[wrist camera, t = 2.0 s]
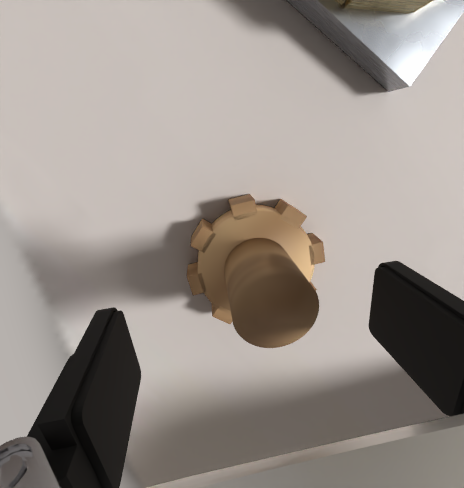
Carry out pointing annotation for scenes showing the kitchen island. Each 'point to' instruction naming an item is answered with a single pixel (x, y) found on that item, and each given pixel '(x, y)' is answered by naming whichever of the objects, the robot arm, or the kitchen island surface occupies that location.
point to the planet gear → (258, 271)
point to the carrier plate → (385, 33)
